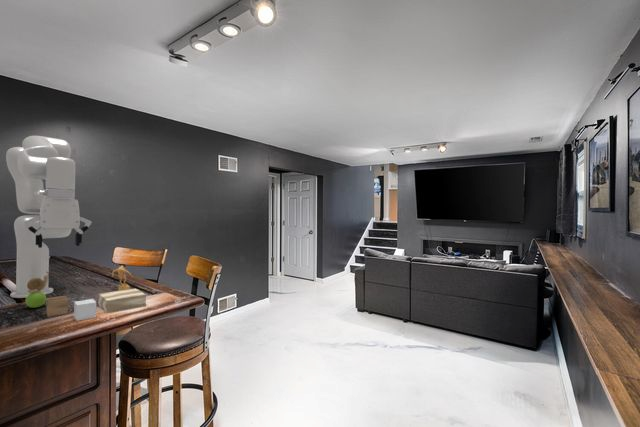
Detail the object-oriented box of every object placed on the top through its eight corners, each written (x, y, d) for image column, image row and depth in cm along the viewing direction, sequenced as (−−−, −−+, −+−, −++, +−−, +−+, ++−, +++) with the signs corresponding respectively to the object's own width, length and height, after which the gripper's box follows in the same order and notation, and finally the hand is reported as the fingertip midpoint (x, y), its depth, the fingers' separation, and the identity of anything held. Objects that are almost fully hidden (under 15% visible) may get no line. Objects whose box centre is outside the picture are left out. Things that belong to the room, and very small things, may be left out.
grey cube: (73, 317, 102) (74, 301, 102) (92, 313, 105) (93, 298, 105) (76, 321, 98) (77, 305, 98) (96, 317, 102) (96, 302, 102)
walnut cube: (46, 313, 105) (46, 298, 104) (65, 310, 108) (65, 295, 108) (47, 317, 101) (48, 301, 101) (67, 313, 105) (68, 298, 105)
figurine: (136, 292, 132) (137, 264, 132) (128, 296, 126) (129, 266, 126) (116, 292, 132) (117, 263, 132) (107, 296, 126) (108, 266, 125)
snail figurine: (53, 305, 112) (53, 272, 112) (31, 310, 106) (32, 275, 106) (43, 303, 114) (43, 270, 114) (21, 308, 108) (22, 273, 108)
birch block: (98, 306, 114) (98, 293, 114) (135, 299, 123) (135, 288, 123) (107, 314, 106) (107, 300, 106) (145, 306, 115) (146, 294, 115)
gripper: (25, 193, 96) (24, 249, 96) (94, 196, 108) (93, 245, 108) (23, 193, 101) (22, 246, 101) (89, 196, 113) (88, 243, 113)
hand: (59, 246), depth 105 cm, fingers open, 9 cm apart
